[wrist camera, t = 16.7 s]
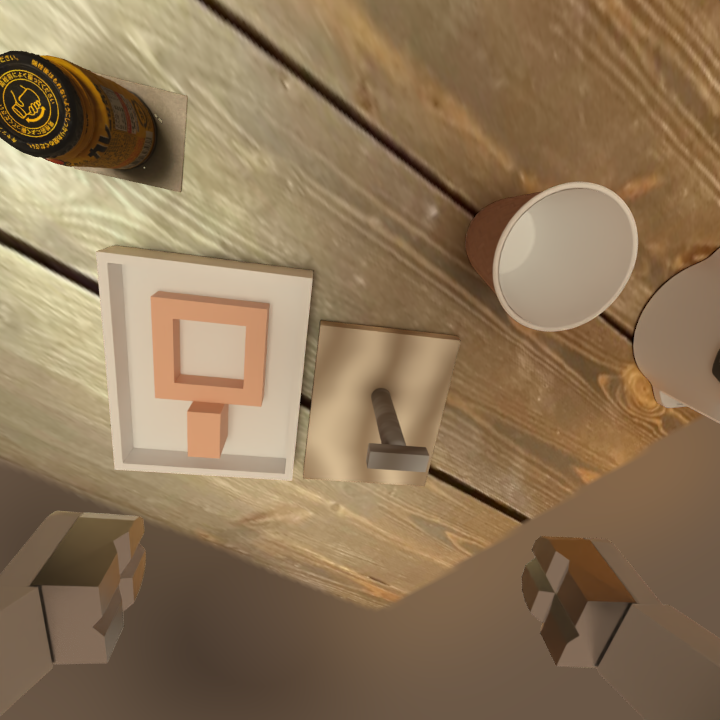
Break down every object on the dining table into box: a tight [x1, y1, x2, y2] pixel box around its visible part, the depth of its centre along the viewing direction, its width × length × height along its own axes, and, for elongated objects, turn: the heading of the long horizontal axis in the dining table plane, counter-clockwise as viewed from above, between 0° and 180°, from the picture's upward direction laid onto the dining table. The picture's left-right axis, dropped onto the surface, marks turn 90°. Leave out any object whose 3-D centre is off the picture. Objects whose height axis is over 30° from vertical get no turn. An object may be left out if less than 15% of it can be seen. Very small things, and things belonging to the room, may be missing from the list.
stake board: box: [303, 320, 461, 486], centre depth 41 cm, size 14×18×13 cm
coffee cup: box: [465, 182, 638, 332], centre depth 35 cm, size 10×10×12 cm
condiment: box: [0, 51, 187, 192], centre depth 30 cm, size 7×8×12 cm
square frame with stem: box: [151, 291, 270, 459], centre depth 41 cm, size 10×15×4 cm, turn 172°
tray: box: [96, 245, 313, 481], centre depth 42 cm, size 18×22×4 cm
